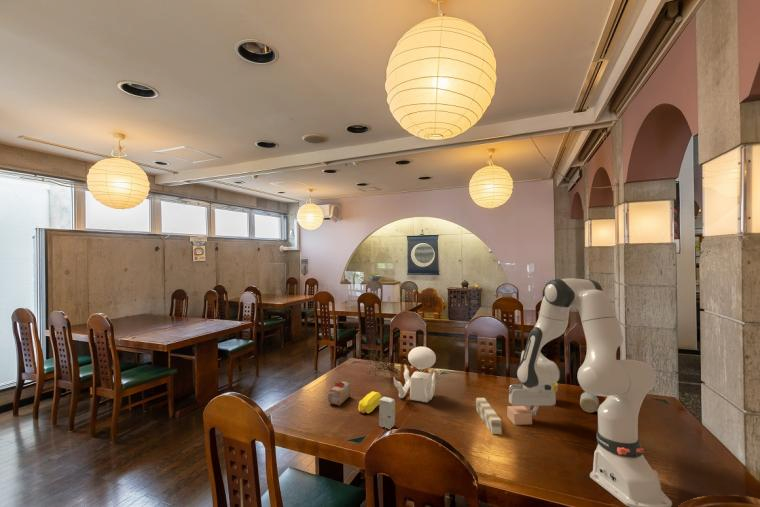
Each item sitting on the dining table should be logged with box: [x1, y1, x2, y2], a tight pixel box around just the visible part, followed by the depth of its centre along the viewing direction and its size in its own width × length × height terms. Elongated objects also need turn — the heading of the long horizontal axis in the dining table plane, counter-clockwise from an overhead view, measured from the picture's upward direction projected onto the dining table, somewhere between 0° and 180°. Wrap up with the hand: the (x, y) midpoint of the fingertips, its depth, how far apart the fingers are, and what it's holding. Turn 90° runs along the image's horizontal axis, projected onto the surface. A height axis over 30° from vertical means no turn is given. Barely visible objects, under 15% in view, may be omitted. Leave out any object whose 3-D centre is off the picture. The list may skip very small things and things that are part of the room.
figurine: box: [393, 346, 437, 403], centre depth 188 cm, size 24×20×28 cm
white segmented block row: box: [475, 397, 503, 435], centre depth 160 cm, size 24×4×6 cm, turn 0°
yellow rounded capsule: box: [358, 390, 383, 414], centre depth 177 cm, size 18×7×8 cm
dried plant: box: [334, 328, 402, 377], centre depth 221 cm, size 30×31×45 cm
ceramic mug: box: [579, 391, 601, 414], centre depth 168 cm, size 11×8×8 cm
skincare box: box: [378, 396, 396, 430], centre depth 157 cm, size 6×4×12 cm
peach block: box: [506, 405, 533, 426], centre depth 160 cm, size 8×8×5 cm
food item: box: [327, 381, 351, 406], centre depth 186 cm, size 14×8×10 cm, turn 160°
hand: (532, 414), depth 160 cm, fingers closed
